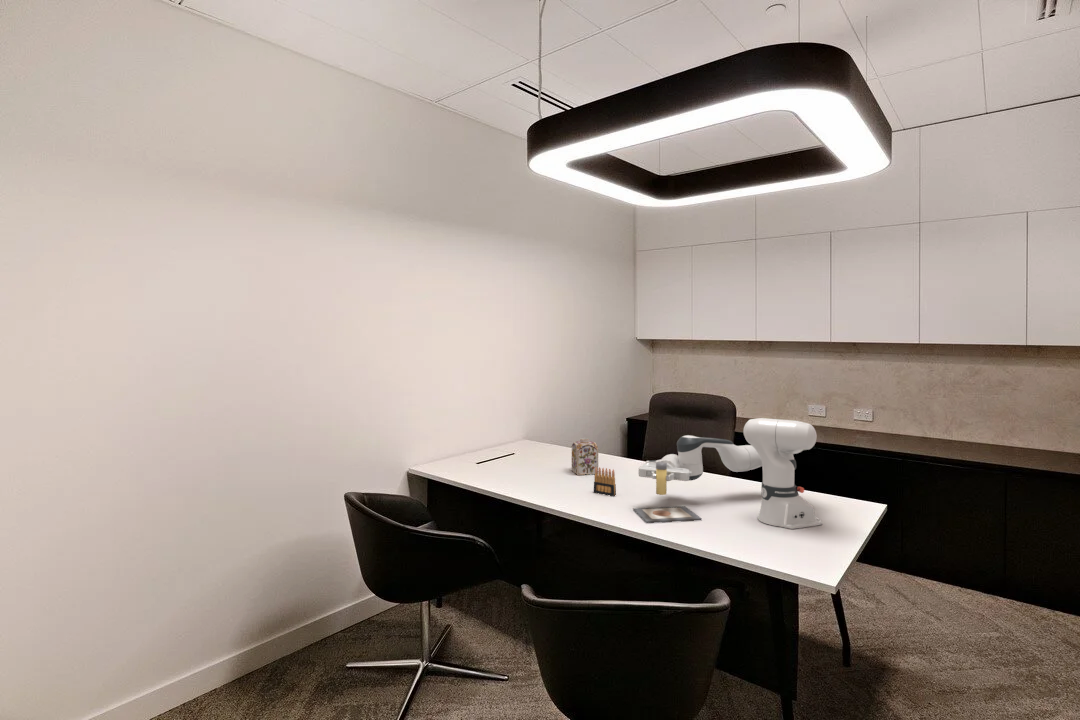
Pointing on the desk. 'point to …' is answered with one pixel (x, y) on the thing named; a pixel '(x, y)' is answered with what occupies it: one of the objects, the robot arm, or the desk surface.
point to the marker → (661, 478)
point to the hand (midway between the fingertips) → (660, 477)
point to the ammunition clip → (604, 482)
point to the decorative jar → (584, 457)
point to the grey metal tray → (666, 514)
